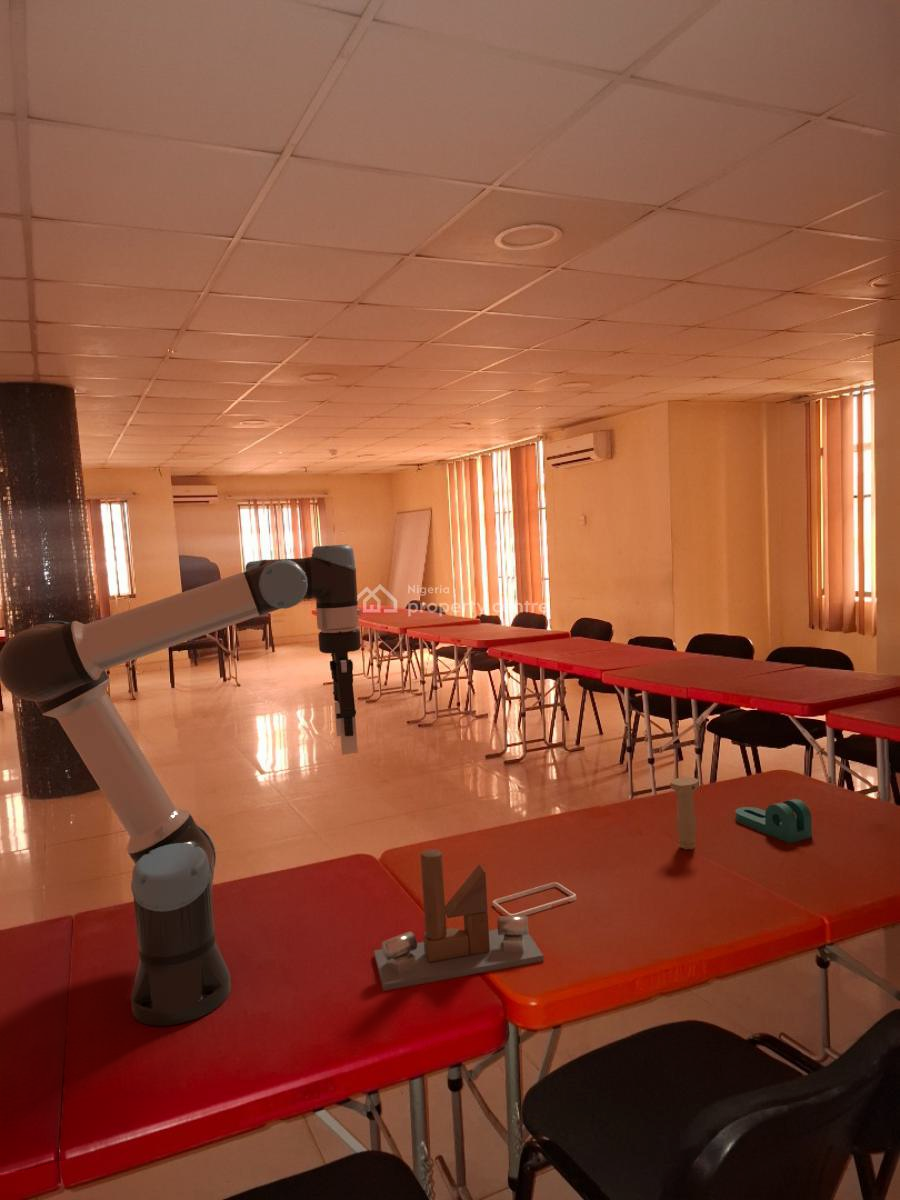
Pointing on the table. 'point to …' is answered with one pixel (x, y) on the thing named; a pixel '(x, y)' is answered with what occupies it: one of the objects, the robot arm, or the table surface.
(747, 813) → the bracket
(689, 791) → the handle
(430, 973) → the plate
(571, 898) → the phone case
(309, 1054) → the table surface
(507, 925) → the grey knob
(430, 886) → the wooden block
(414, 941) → the grey block
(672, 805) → the table surface
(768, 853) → the table surface
